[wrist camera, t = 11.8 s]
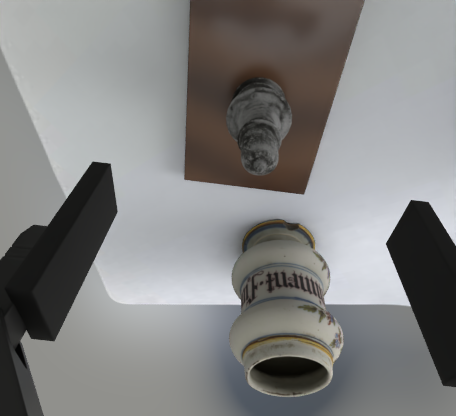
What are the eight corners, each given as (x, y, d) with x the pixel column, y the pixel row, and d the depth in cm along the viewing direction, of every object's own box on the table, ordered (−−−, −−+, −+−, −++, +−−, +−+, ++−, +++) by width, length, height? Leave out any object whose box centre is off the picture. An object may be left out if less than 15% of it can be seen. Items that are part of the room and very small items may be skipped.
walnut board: (193, -32, 27) (191, -31, 27) (363, -9, 28) (366, -6, 27) (185, 174, 40) (184, 179, 39) (302, 188, 40) (303, 194, 39)
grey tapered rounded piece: (265, 60, 30) (269, 115, 21) (300, 109, 33) (318, 178, 24) (215, 100, 33) (200, 165, 24) (252, 142, 36) (251, 216, 26)
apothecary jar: (335, 220, 43) (374, 358, 29) (307, 280, 51) (327, 412, 37) (242, 205, 42) (236, 338, 28) (227, 268, 50) (217, 397, 36)
